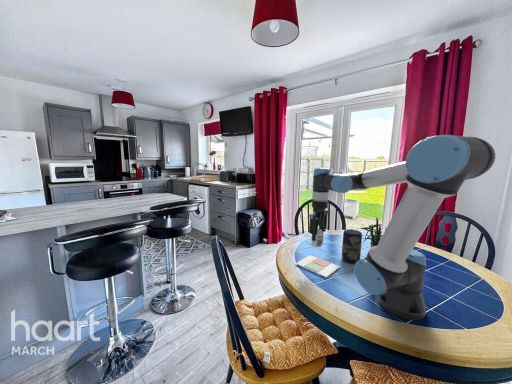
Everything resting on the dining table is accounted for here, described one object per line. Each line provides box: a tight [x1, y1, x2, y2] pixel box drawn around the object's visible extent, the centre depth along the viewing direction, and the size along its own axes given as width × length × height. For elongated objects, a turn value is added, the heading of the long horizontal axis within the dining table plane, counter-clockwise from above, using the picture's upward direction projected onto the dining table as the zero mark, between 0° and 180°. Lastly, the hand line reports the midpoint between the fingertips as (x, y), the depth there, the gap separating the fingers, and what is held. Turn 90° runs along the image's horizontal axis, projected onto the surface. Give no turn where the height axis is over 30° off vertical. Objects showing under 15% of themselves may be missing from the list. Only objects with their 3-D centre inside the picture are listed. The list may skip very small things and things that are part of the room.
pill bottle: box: [316, 227, 323, 248], centre depth 104 cm, size 5×5×8 cm
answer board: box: [295, 254, 341, 279], centre depth 110 cm, size 18×14×1 cm
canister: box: [341, 228, 363, 264], centre depth 116 cm, size 10×10×18 cm
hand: (317, 244), depth 105 cm, fingers closed on pill bottle, 5 cm apart
